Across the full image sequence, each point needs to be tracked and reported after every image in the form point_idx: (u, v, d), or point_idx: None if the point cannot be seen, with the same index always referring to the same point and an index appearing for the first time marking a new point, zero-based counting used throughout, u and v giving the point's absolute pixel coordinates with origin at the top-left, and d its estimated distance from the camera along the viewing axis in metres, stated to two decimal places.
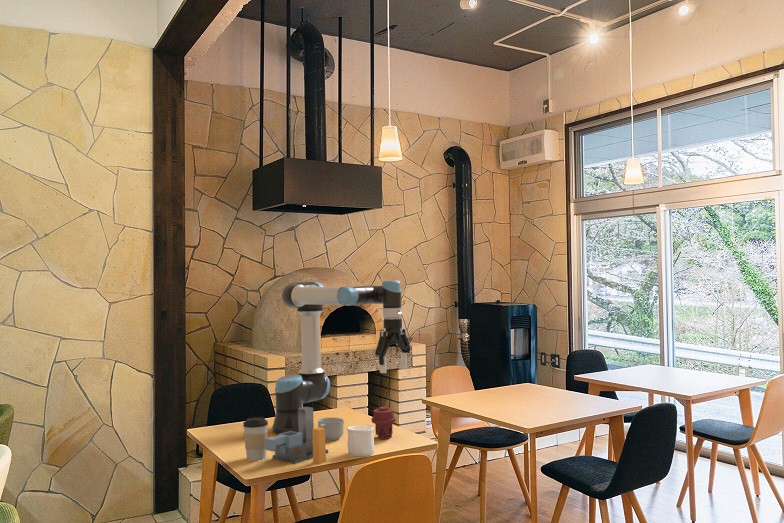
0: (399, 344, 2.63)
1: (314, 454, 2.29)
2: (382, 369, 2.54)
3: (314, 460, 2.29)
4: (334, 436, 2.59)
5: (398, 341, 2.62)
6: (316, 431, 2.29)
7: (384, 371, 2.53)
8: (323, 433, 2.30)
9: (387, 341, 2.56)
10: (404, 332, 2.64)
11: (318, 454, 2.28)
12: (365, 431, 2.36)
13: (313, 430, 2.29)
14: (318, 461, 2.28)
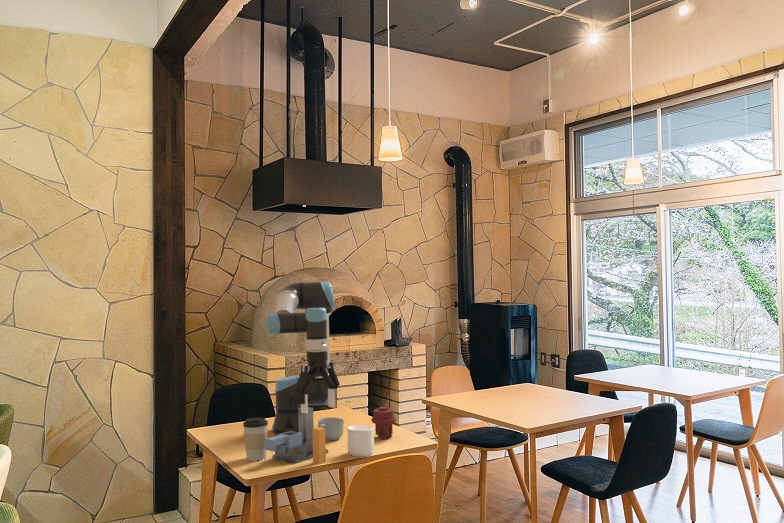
0: (325, 379, 2.34)
1: (314, 454, 2.29)
2: (303, 409, 2.25)
3: (314, 460, 2.29)
4: (334, 436, 2.59)
5: (324, 376, 2.33)
6: (316, 431, 2.29)
7: (305, 411, 2.24)
8: (323, 433, 2.30)
9: (309, 377, 2.27)
10: (331, 366, 2.35)
11: (318, 454, 2.28)
12: (365, 431, 2.36)
13: (313, 430, 2.29)
14: (318, 461, 2.28)
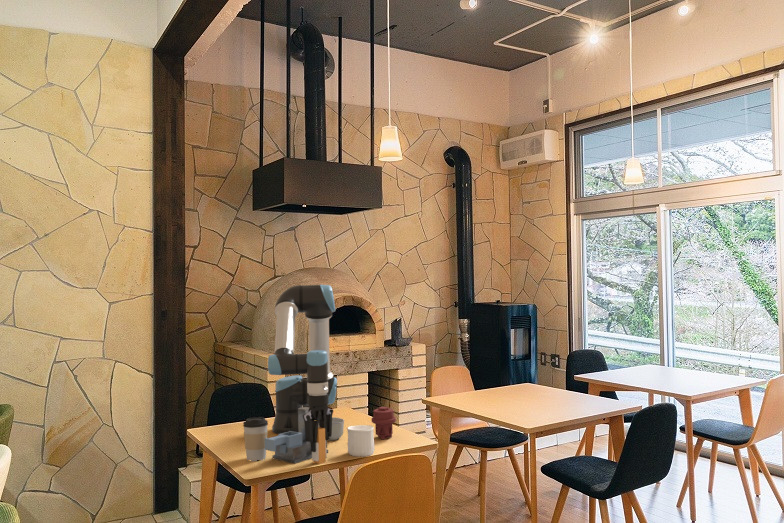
0: (321, 426, 2.31)
1: None
2: (314, 456, 2.28)
3: None
4: (334, 436, 2.59)
5: (321, 421, 2.31)
6: None
7: (316, 459, 2.27)
8: (323, 433, 2.30)
9: (314, 423, 2.28)
10: (331, 413, 2.34)
11: None
12: (365, 431, 2.36)
13: None
14: (318, 461, 2.28)
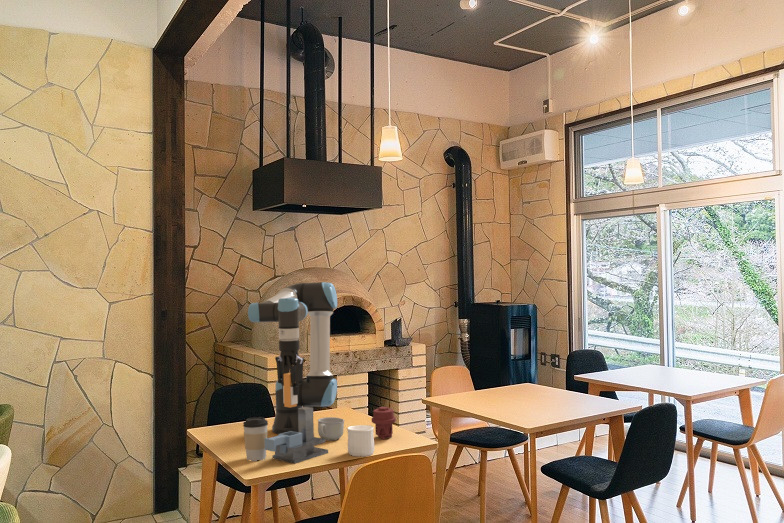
0: None
1: None
2: None
3: None
4: (334, 436, 2.59)
5: None
6: None
7: None
8: (288, 379, 2.34)
9: None
10: (297, 362, 2.31)
11: None
12: (365, 431, 2.36)
13: None
14: None
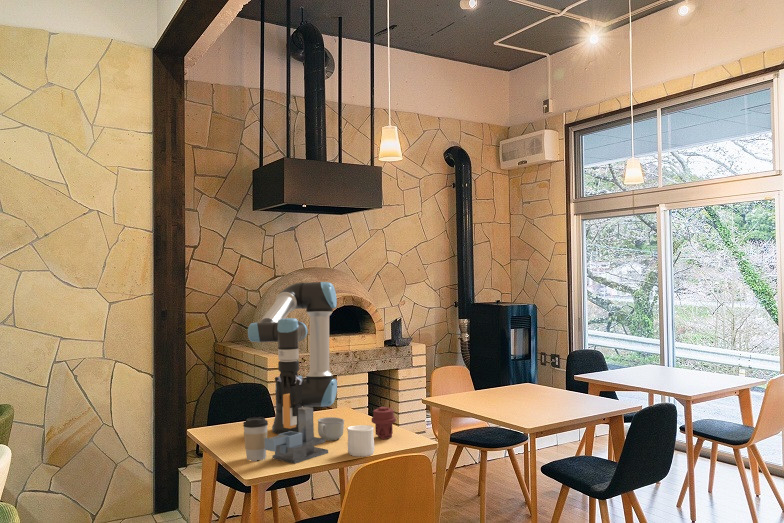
0: None
1: None
2: None
3: None
4: (334, 436, 2.59)
5: None
6: None
7: None
8: (287, 399, 2.34)
9: None
10: (296, 383, 2.31)
11: None
12: (365, 431, 2.36)
13: None
14: None
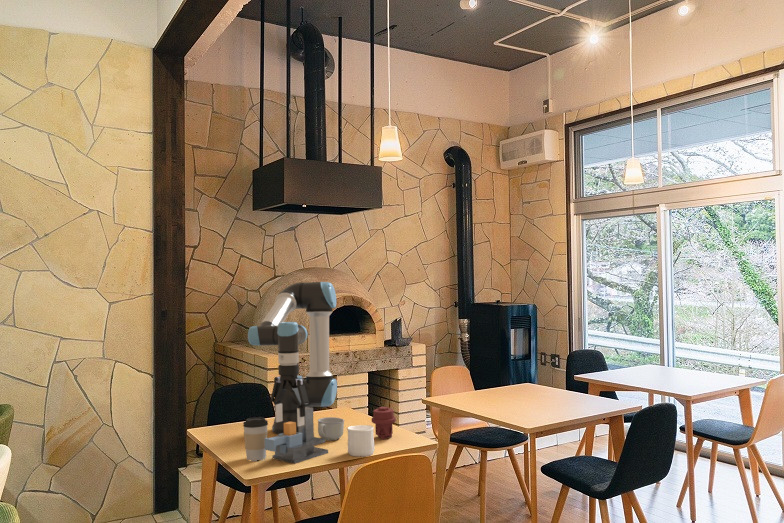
0: None
1: None
2: None
3: None
4: (334, 436, 2.59)
5: None
6: None
7: None
8: (288, 428, 2.34)
9: None
10: (298, 383, 2.31)
11: None
12: (365, 431, 2.36)
13: None
14: None
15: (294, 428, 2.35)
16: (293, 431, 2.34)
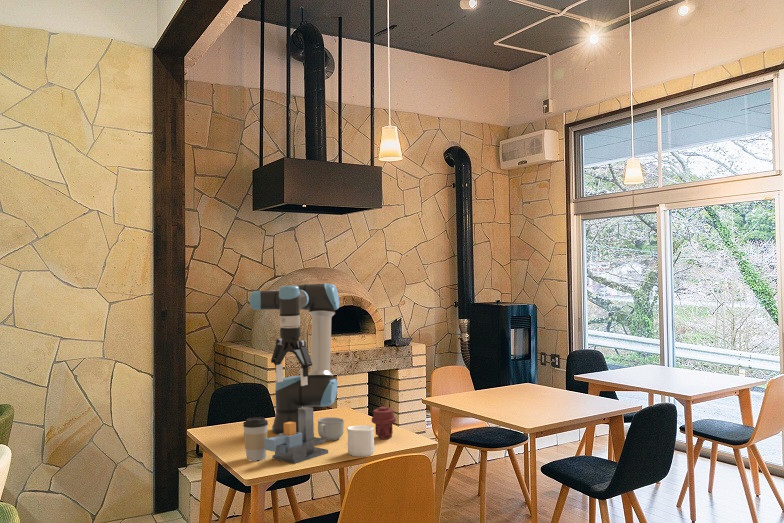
0: None
1: None
2: None
3: None
4: (334, 436, 2.59)
5: None
6: None
7: None
8: (288, 428, 2.34)
9: None
10: (299, 344, 2.35)
11: None
12: (365, 431, 2.36)
13: None
14: None
15: (294, 428, 2.35)
16: (293, 431, 2.34)
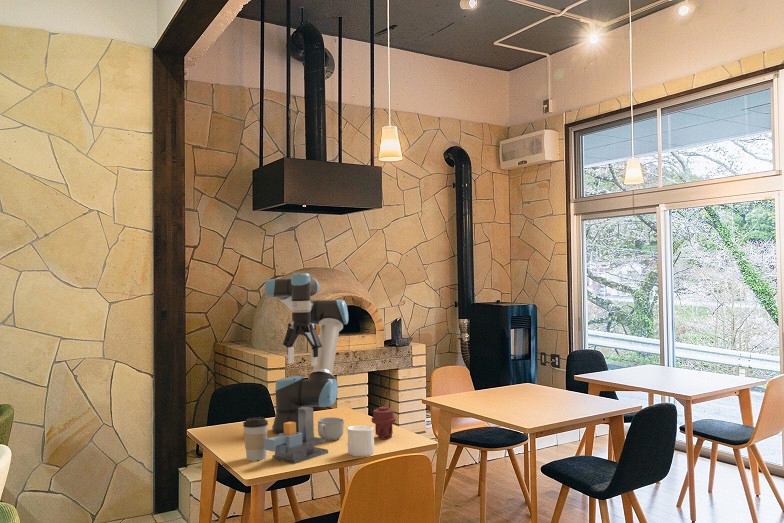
0: None
1: None
2: None
3: None
4: (334, 436, 2.59)
5: None
6: None
7: None
8: (288, 428, 2.34)
9: None
10: (310, 327, 2.53)
11: None
12: (365, 431, 2.36)
13: None
14: None
15: (294, 428, 2.35)
16: (293, 431, 2.34)
